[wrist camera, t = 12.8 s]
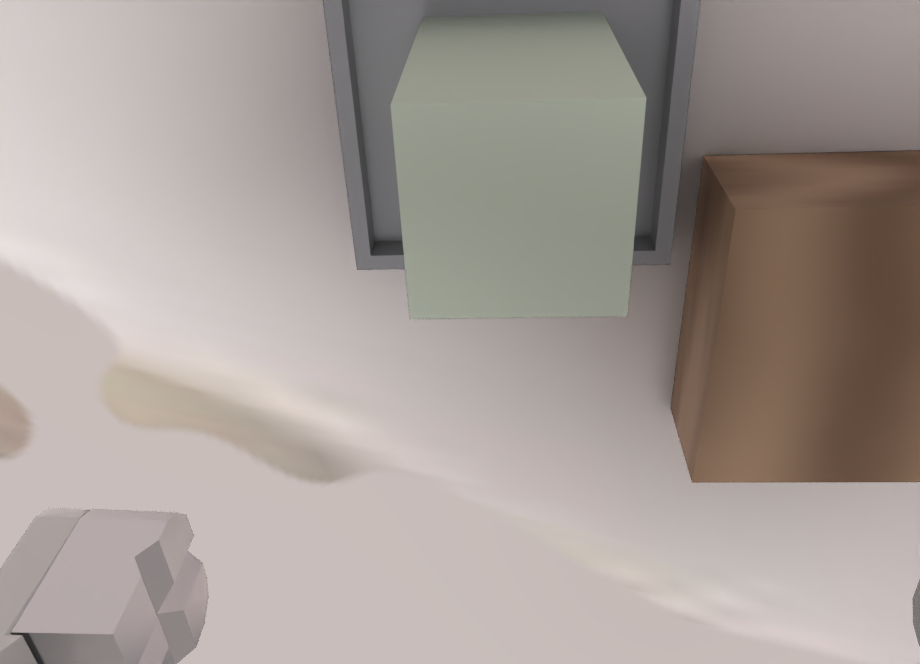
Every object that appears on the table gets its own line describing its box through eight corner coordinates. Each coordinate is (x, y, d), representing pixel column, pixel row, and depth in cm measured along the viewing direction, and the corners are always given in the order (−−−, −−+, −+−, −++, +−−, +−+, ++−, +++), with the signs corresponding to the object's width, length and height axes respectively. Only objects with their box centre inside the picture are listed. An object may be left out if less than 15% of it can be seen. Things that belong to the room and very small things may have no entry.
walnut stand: (1037, 147, 24) (1123, 201, 21) (942, 406, 30) (999, 481, 26) (703, 155, 25) (735, 209, 21) (670, 408, 30) (691, 482, 27)
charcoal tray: (698, -98, 21) (711, -92, 20) (661, 242, 27) (669, 264, 25) (324, -82, 22) (313, -75, 20) (363, 248, 27) (357, 269, 26)
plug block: (601, 11, 22) (646, 97, 15) (592, 180, 25) (627, 316, 18) (422, 17, 22) (390, 104, 16) (433, 184, 25) (409, 319, 18)
